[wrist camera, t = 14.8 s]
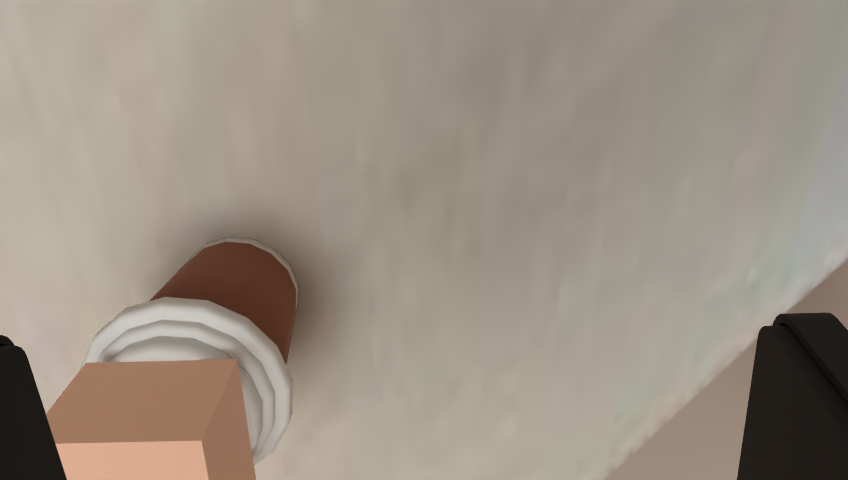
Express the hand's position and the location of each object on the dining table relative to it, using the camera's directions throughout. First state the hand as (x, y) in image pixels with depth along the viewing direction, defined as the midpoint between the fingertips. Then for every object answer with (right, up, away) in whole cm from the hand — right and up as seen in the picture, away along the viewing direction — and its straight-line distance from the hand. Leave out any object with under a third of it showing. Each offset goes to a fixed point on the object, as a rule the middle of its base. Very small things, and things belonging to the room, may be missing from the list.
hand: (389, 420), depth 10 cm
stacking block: (-10, -5, +21) cm, 24 cm away
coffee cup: (-10, 0, +32) cm, 34 cm away
